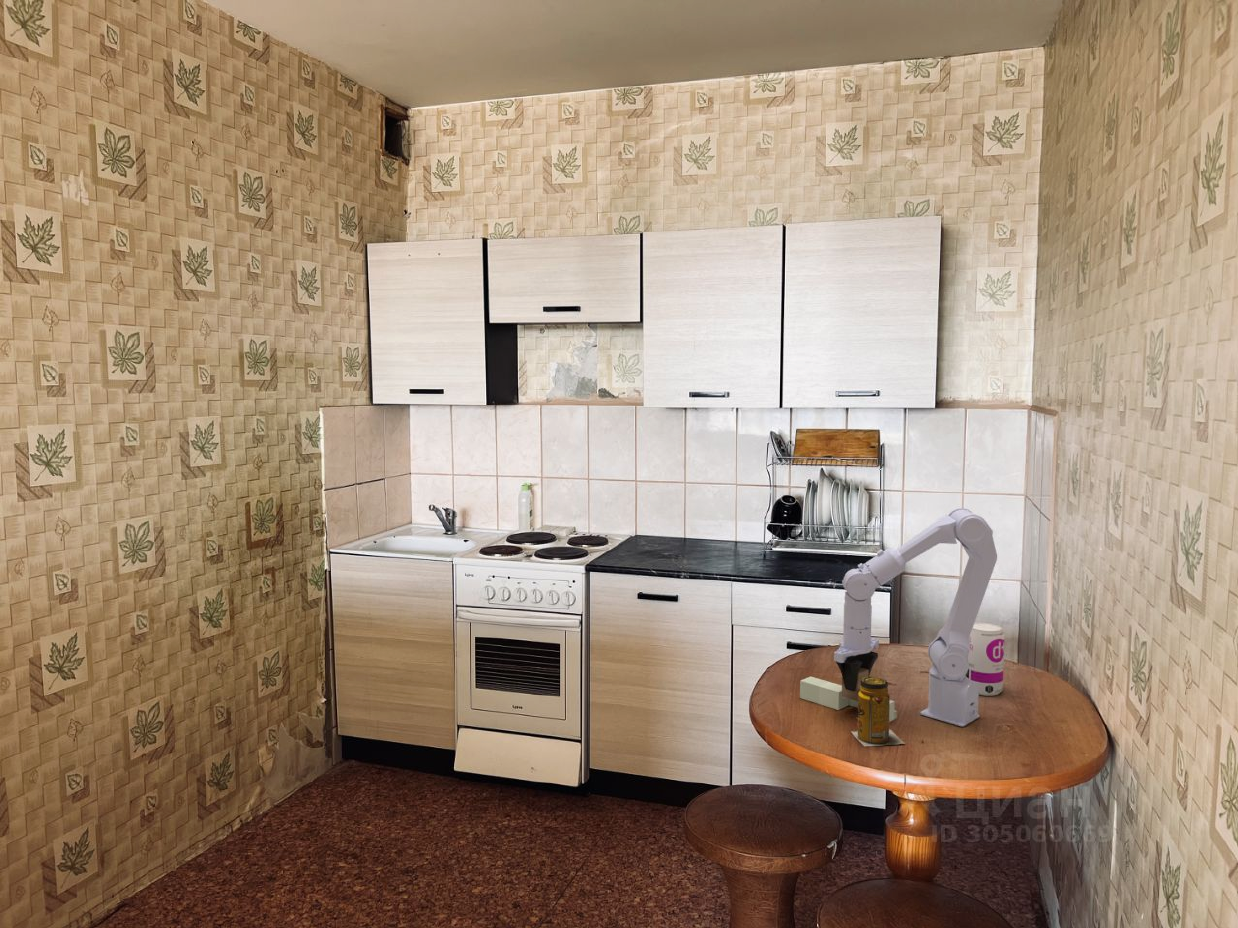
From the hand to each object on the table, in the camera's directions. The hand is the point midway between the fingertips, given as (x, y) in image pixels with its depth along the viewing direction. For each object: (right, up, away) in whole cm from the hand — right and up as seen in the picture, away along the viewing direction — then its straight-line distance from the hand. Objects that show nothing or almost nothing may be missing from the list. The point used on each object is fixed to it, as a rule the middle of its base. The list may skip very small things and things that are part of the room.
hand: (855, 687), depth 185 cm
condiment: (+1, -7, -13) cm, 15 cm away
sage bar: (-2, -5, +2) cm, 6 cm away
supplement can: (+33, -4, +12) cm, 35 cm away
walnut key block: (0, -2, 0) cm, 2 cm away
